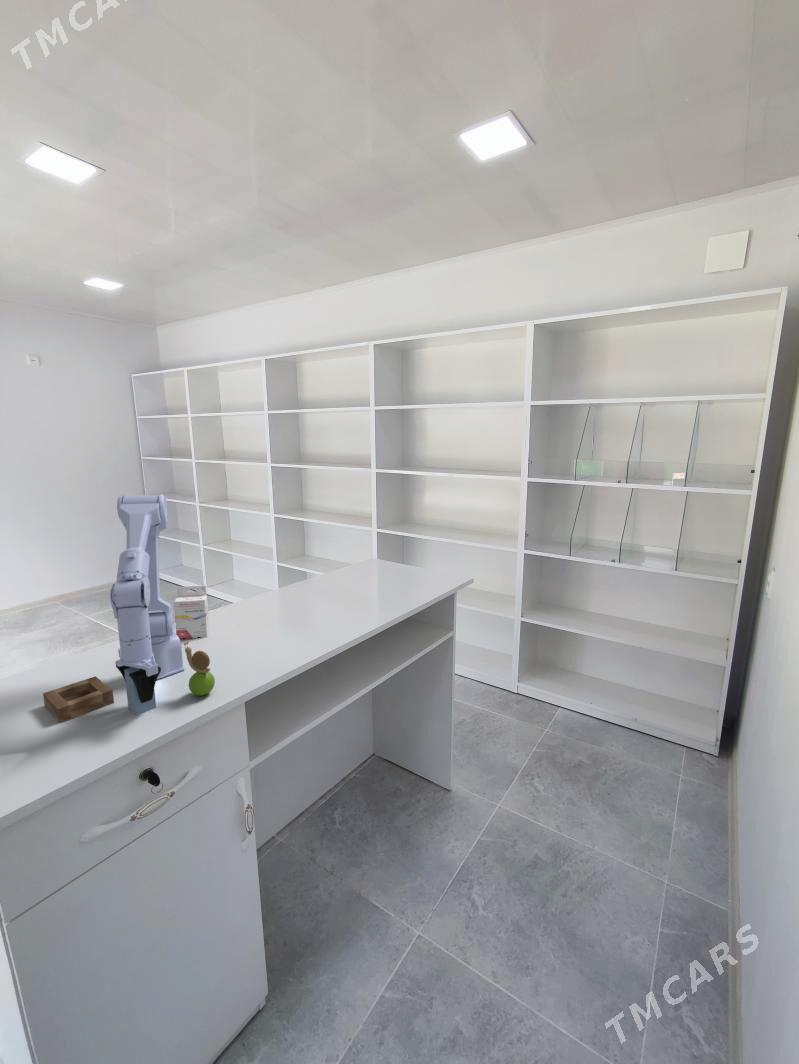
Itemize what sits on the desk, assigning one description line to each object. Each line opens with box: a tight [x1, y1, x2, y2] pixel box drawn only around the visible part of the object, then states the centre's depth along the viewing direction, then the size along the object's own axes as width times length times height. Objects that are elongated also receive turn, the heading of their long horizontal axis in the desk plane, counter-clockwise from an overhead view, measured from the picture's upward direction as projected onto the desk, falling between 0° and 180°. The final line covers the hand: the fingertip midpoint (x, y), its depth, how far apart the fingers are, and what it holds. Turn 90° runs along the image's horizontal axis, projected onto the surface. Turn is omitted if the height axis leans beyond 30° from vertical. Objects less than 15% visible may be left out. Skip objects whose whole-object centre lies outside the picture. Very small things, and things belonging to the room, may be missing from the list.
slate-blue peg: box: [124, 667, 157, 716], centre depth 100 cm, size 4×4×9 cm
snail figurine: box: [183, 641, 216, 697], centre depth 106 cm, size 5×6×12 cm
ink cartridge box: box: [173, 585, 210, 640], centre depth 139 cm, size 9×5×15 cm, turn 104°
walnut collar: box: [42, 676, 115, 724], centre depth 102 cm, size 10×10×3 cm
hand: (141, 696), depth 101 cm, fingers open, 5 cm apart
